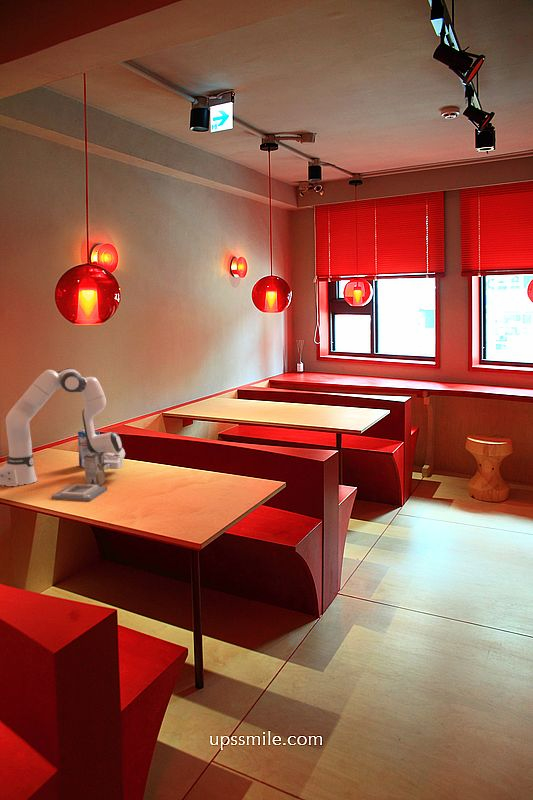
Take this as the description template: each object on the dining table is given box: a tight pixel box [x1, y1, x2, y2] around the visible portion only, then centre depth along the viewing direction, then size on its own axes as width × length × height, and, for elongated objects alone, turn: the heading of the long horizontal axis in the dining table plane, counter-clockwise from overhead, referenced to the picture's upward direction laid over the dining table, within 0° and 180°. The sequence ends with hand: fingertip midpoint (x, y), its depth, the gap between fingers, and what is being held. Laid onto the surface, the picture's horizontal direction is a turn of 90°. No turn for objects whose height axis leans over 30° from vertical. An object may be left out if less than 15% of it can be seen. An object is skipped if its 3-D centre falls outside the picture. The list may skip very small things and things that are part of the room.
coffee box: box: [84, 452, 106, 486], centre depth 313 cm, size 9×6×16 cm
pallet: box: [51, 483, 108, 502], centre depth 299 cm, size 20×18×3 cm
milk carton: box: [77, 429, 100, 468], centre depth 349 cm, size 10×6×20 cm, turn 71°
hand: (94, 467), depth 314 cm, fingers open, 8 cm apart
